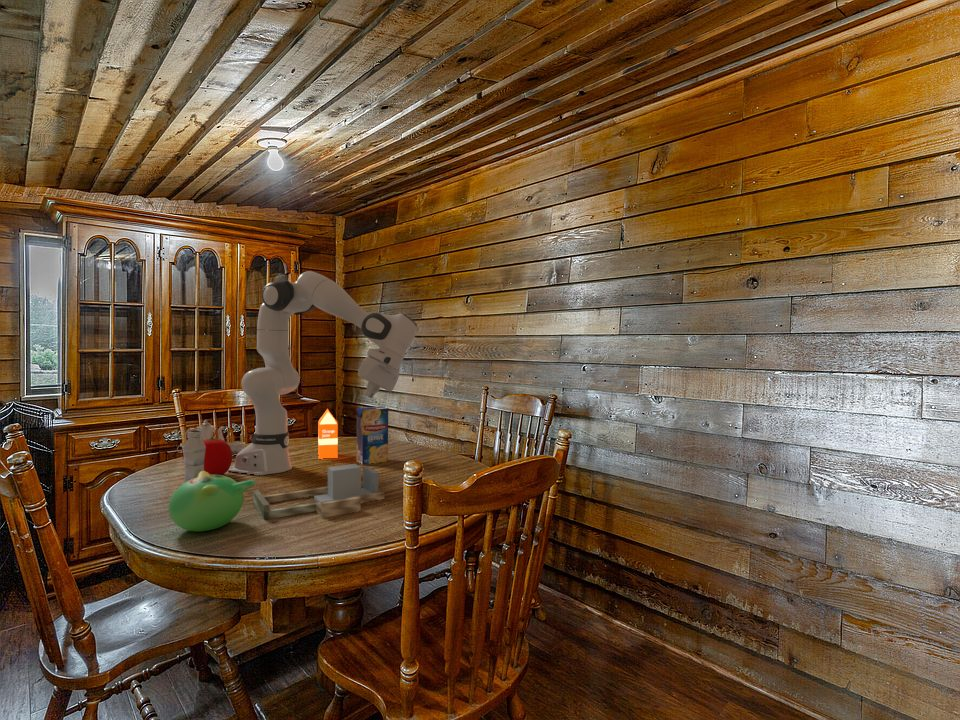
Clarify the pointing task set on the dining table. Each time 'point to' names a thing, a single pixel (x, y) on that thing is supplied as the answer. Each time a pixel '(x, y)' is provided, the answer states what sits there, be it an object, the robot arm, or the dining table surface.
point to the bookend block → (349, 482)
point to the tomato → (217, 456)
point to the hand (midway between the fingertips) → (368, 396)
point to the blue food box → (372, 435)
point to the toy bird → (207, 501)
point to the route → (321, 508)
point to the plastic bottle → (193, 455)
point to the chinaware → (208, 433)
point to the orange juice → (327, 436)
